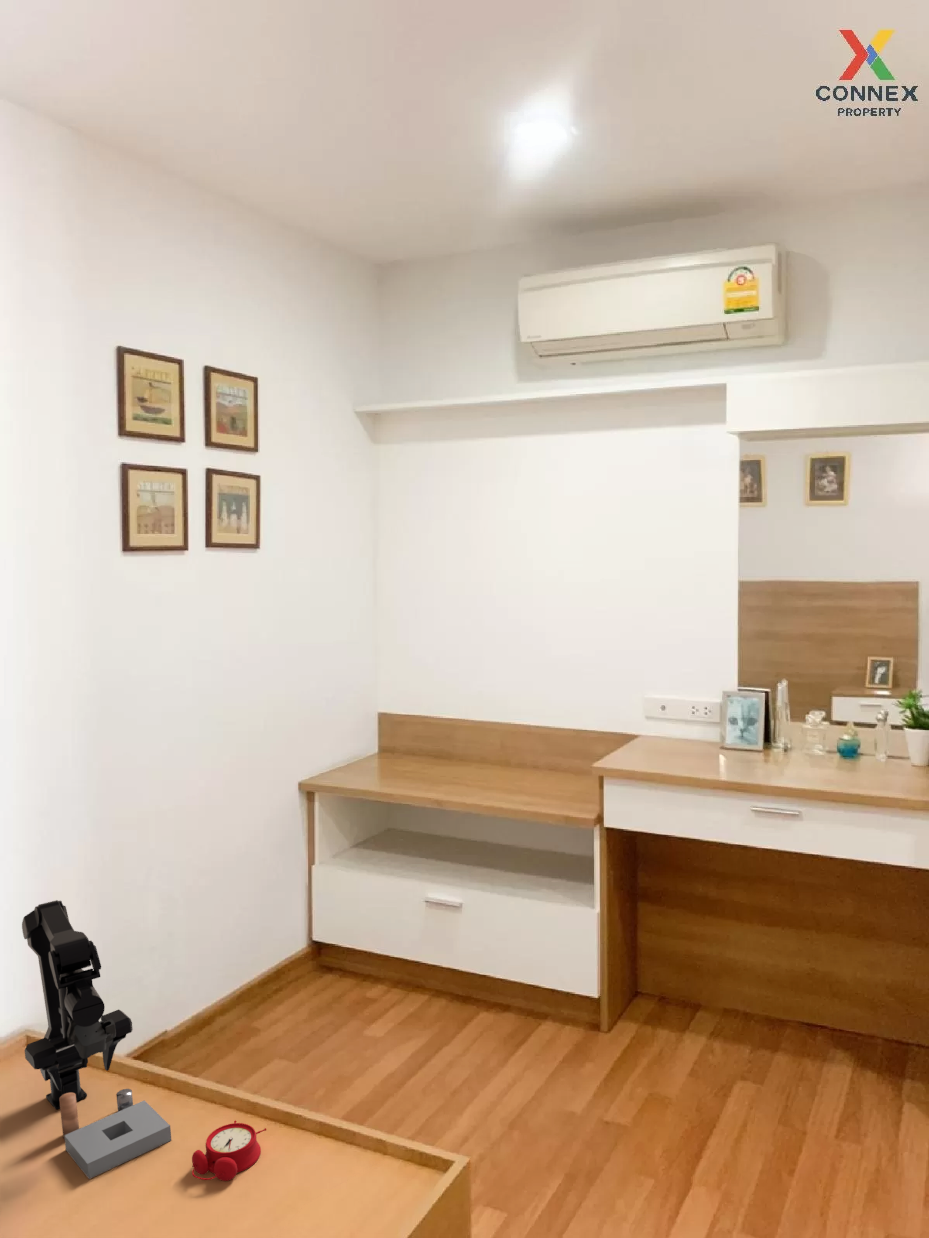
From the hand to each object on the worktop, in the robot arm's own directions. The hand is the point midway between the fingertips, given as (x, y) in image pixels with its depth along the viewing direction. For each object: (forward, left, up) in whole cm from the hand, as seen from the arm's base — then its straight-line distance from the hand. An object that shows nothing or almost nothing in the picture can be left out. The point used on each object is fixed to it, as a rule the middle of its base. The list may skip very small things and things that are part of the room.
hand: (83, 1079), depth 194 cm
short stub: (-5, +9, -13) cm, 17 cm away
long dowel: (-5, -2, -13) cm, 14 cm away
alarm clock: (+25, +16, -14) cm, 33 cm away
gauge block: (+5, +4, -13) cm, 14 cm away
